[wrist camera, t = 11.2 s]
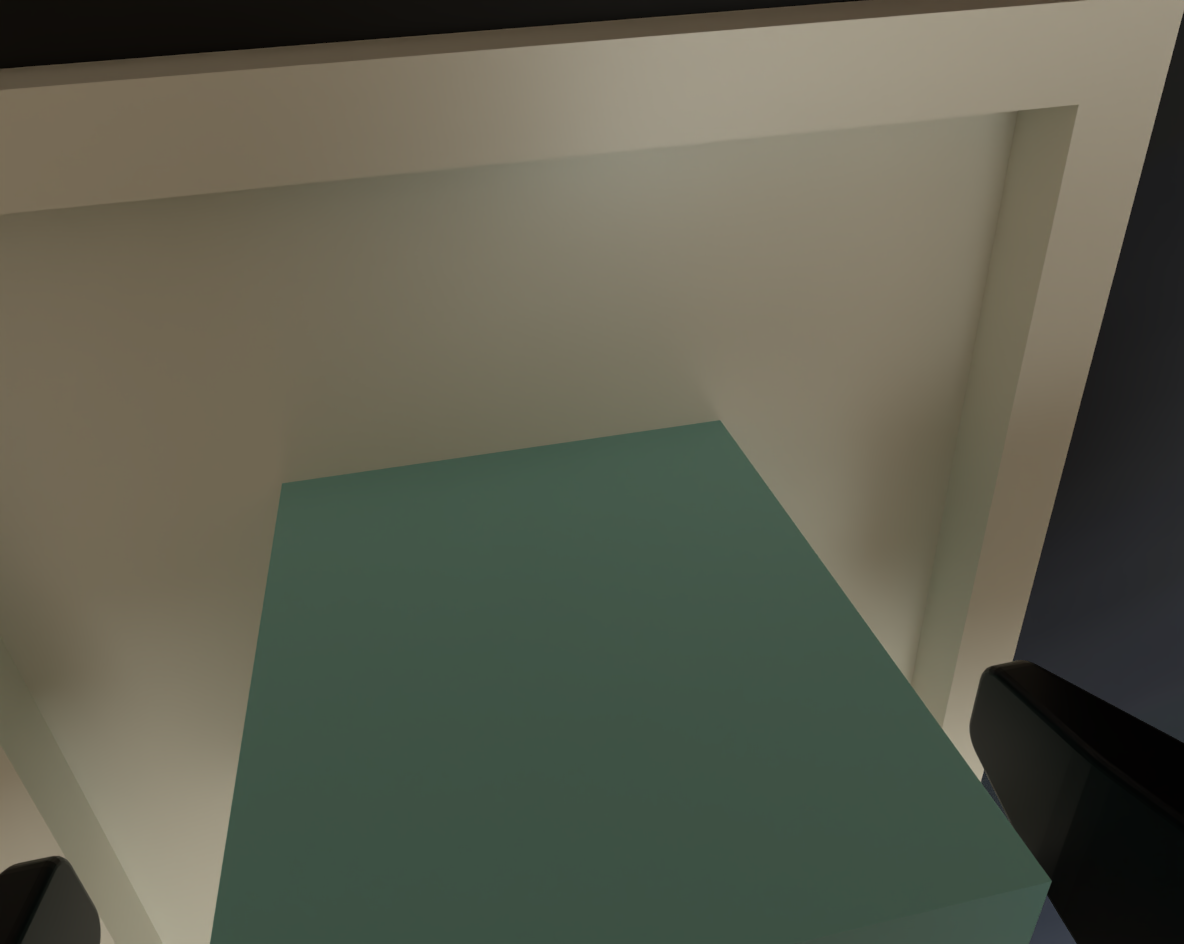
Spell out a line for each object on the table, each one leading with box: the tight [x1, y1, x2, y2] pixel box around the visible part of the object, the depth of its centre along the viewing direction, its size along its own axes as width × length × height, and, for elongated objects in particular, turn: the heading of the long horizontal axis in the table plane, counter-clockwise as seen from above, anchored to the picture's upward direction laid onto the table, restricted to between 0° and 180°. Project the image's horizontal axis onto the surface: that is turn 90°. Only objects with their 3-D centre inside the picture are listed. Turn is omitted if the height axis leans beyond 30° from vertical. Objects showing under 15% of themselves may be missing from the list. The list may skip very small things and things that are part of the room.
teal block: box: [210, 420, 1052, 944], centre depth 8 cm, size 4×4×6 cm
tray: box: [0, 0, 1184, 944], centre depth 10 cm, size 12×12×1 cm
